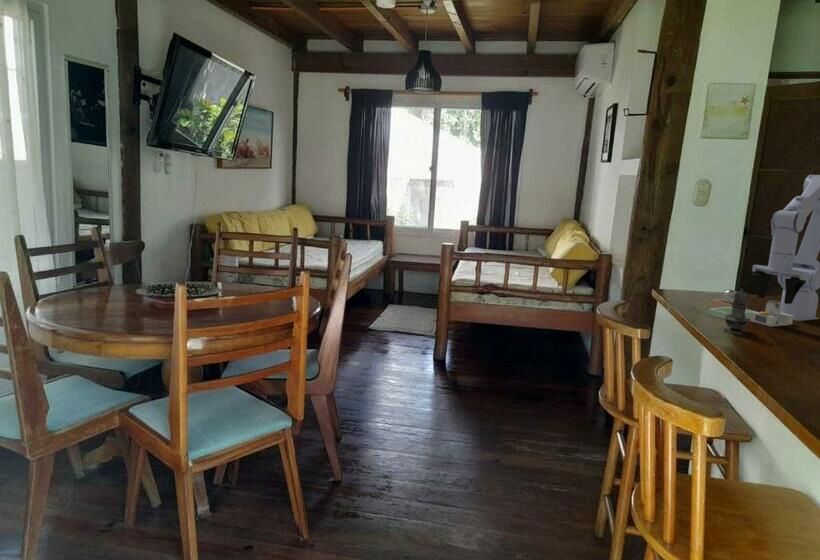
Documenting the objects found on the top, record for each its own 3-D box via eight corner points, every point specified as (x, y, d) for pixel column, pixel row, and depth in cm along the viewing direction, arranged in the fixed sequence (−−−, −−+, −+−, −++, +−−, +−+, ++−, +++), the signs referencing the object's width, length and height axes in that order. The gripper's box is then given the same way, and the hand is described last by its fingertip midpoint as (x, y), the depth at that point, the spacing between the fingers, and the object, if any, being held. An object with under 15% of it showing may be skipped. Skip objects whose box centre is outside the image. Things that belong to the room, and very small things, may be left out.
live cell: (769, 320, 154) (772, 299, 152) (781, 323, 150) (785, 302, 149) (760, 321, 152) (764, 300, 151) (772, 324, 149) (776, 303, 148)
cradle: (771, 320, 156) (773, 308, 155) (791, 325, 150) (793, 313, 150) (749, 322, 152) (751, 310, 152) (769, 327, 147) (771, 315, 146)
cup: (725, 308, 170) (727, 299, 170) (745, 313, 164) (747, 303, 163) (710, 309, 168) (712, 300, 167) (730, 314, 161) (731, 304, 161)
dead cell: (727, 308, 168) (729, 289, 167) (737, 310, 165) (740, 291, 164) (718, 308, 167) (721, 289, 166) (729, 311, 163) (732, 291, 162)
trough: (734, 313, 163) (735, 306, 162) (756, 319, 156) (757, 311, 156) (706, 315, 158) (707, 308, 158) (727, 321, 152) (728, 314, 152)
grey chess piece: (752, 335, 138) (759, 291, 136) (727, 333, 139) (734, 289, 137) (742, 329, 144) (749, 286, 141) (719, 328, 145) (725, 285, 142)
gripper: (748, 250, 153) (740, 295, 155) (799, 257, 139) (791, 307, 142) (764, 250, 155) (757, 294, 158) (817, 256, 142) (808, 305, 144)
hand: (774, 300), depth 150 cm, fingers open, 7 cm apart
